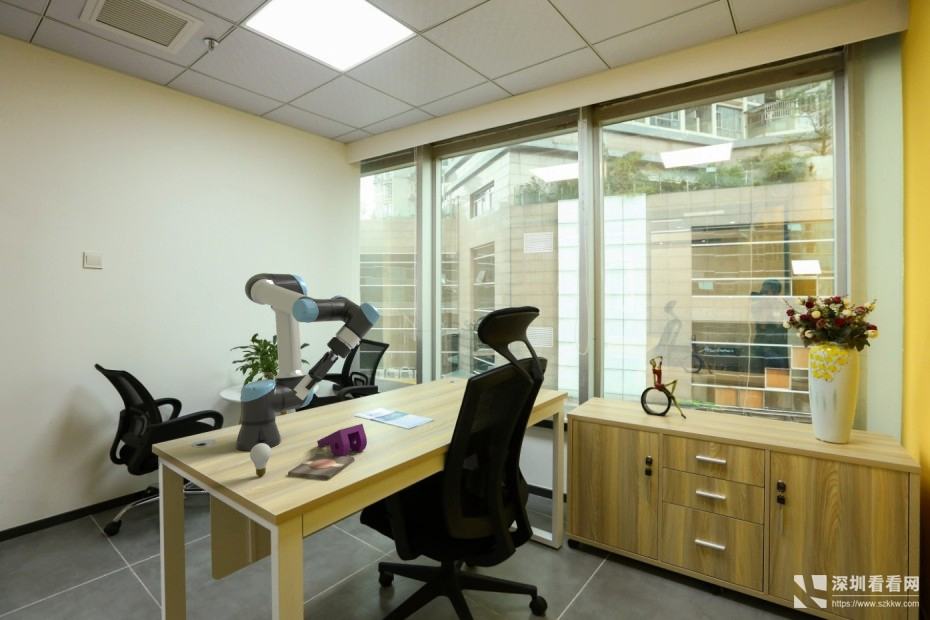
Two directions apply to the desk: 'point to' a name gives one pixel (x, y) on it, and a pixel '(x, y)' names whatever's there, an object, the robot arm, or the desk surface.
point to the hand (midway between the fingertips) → (297, 394)
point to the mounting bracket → (345, 440)
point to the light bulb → (260, 457)
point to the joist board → (321, 466)
